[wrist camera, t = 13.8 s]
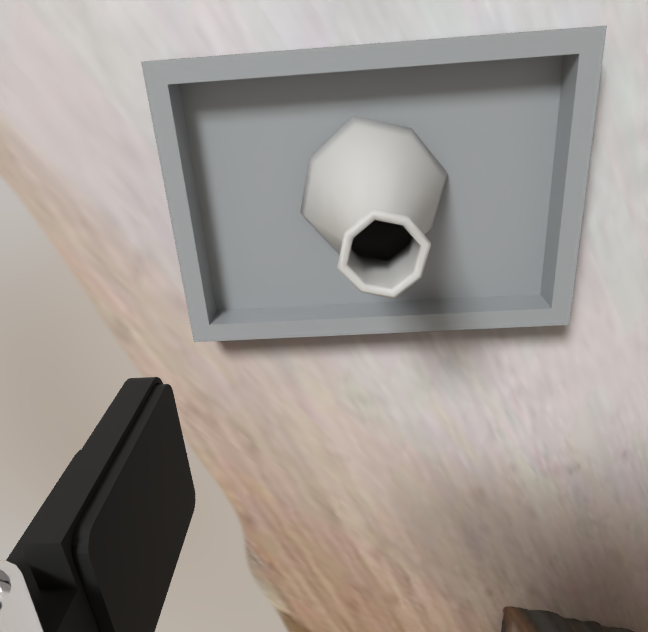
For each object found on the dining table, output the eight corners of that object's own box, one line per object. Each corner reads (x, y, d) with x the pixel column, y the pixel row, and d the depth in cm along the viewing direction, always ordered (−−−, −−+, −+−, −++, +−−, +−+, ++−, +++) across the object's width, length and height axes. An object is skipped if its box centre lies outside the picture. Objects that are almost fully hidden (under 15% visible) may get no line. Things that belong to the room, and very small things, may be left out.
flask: (472, 164, 28) (531, 219, 19) (394, 281, 31) (414, 377, 22) (346, 88, 27) (346, 108, 18) (277, 217, 30) (247, 291, 21)
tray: (158, 60, 27) (141, 61, 25) (584, 27, 26) (606, 25, 24) (204, 322, 33) (194, 342, 31) (553, 305, 32) (569, 324, 30)
